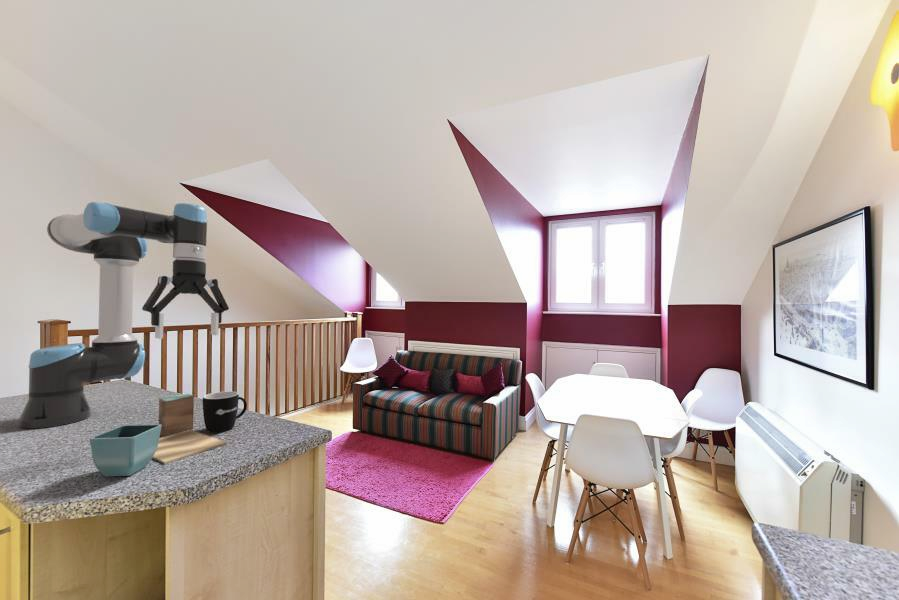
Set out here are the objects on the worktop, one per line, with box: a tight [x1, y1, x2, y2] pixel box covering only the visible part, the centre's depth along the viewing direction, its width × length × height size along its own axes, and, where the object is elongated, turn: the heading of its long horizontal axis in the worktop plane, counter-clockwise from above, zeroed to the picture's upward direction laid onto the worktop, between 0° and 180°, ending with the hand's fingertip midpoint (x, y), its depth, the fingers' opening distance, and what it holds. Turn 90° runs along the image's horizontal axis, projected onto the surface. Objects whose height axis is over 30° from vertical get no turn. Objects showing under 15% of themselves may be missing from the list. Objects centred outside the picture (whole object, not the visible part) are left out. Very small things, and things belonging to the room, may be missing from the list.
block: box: [158, 393, 195, 437], centre depth 105 cm, size 4×7×10 cm, turn 151°
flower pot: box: [89, 424, 162, 477], centre depth 80 cm, size 9×9×9 cm
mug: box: [202, 390, 248, 434], centre depth 108 cm, size 12×9×10 cm
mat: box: [151, 429, 228, 465], centre depth 94 cm, size 18×14×1 cm
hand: (188, 336), depth 101 cm, fingers open, 13 cm apart
